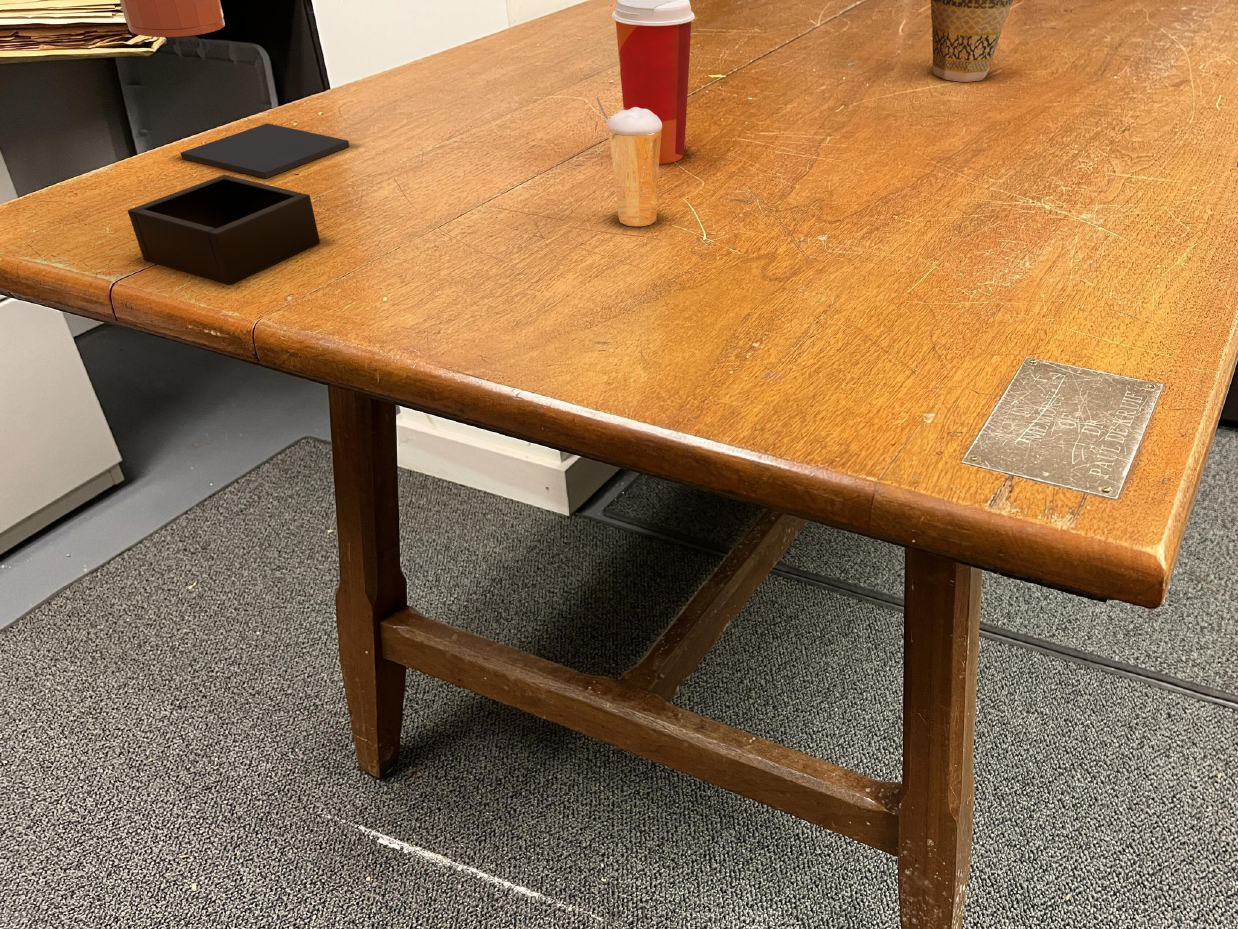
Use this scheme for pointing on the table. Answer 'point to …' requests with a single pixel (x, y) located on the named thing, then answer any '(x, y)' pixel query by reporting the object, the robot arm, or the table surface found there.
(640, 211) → the milkshake
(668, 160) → the paper cup
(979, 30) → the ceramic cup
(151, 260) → the open black box
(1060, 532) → the table surface
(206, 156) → the coaster
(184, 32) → the cup
